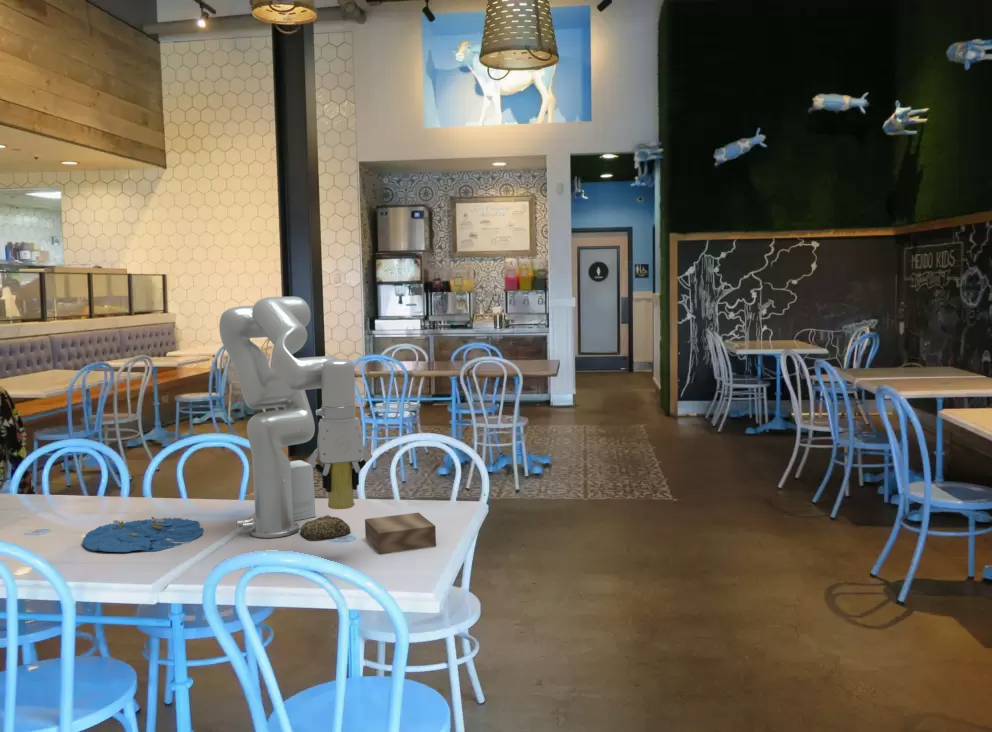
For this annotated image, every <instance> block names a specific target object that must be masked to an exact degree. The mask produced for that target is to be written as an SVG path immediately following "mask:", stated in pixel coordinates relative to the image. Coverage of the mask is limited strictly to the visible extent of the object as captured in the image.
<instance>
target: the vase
mask: <svg viewBox="0 0 992 732" xmlns="http://www.w3.org/2000/svg"><path fill="white" fill-rule="evenodd" d="M329 475H330V485H331V492H329V493H328V500H327V501H328V502H327V507H328V508H329V509H331V510H347V509H351V508H353V507H354V506H355V500H354V498H355V497H354V489H353V475H352V462H347V463H346V462H343V463H335V464H331V465H330V468H329Z"/></svg>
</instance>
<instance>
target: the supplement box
mask: <svg viewBox="0 0 992 732" xmlns="http://www.w3.org/2000/svg"><path fill="white" fill-rule="evenodd" d="M290 465H291V483H292V505H293V522H296V521H300V520H306V519H310V518H315V517H316V515H317V514H316V498H315V481H314V480H315V479H314V467H313V466H312V465H311V464H309V463H308V462H307V461H303V460H300V459H298V460H297V459H296V460H292V461H290Z"/></svg>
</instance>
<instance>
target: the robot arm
mask: <svg viewBox="0 0 992 732" xmlns="http://www.w3.org/2000/svg"><path fill="white" fill-rule="evenodd" d="M311 314H312V313H311V309H310V306H309V305H308V303H307V301H306V300H304V299H303V298H302V297H299V296H293V295H292V296H268V297H264V298H261V299H258V301H256V302H255V303H254V305H240V306H235V307H231V308H228V309H226V310H225V311H224V312H223V313H222V314H221V316H220V319H219V325H218V326H219V329H218V330H219V334H220V335H219V336H220V340H221V343H222V345H223V347H224V349H225V351H226V353H227V354H228V357H229V358H230V360H231V362H232V364H233V368H234V372H235V374H236V378H237V382H238V384H239V387H240V391H241V394H242V397H243V401H244V404H245V405H246V407H248V408H250V409H252V410H264V409H273V408H275V409H274V410H267V411H263V412H261V411H260V412H258V413H256V414H254V415H253V416H252V417H250V419H249V420H248V421H247V424H246V433H247V434H246V435H247V438H248V443H249V447H250V451H251V460H252V461H251V462H252V475H253V476H252V478H253V497H254V498H253V499H254V511H255V512H254V514H252V517H249V518H247V519H244V518H243V519H237V520H236V526H237V528H243V529H248V528H250V529H249V534H250V536H252V537H255V538H262V539H263V538H265V539H270V538H271V539H272V538H281V537H287V536H291V535H293V534H295V533H298V532H299V531H300V528H301V526H300V524H299V522H296V521H293V505H292V483H291V465H290V462H291V461H290V459H289V458H288V456H287V455H286V453H285V452H284V451H283V449H282V448H284V447H286V446H287V447H288V446H294V445H300V444H304V443H308V442H309V441H311V440H312V438H313V437H314V436H315V432H316V431H315V430H316V426H315V425H316V424H315V419H314V415H313V411H312V409H311V406H310V402H309V399H308V396H307V393H306V391H307V390H315V389H321V407H320V408H319V409H315V414H316V416H321V418H320V419H319V422H318V427H317V428H318V429H317V439H316V440H317V444H316V448H315V449H314V451H313V452H312V453H311V455H310V456H309V457H308V458H307V460H306V462H307V463H309V464H311V465H312V466H313V468H314V469H316V470H317V471H318V472H319V473H320V474H321V475H322V476H321V478H322V479H321V480H322V489H324V490H325V492H326V493H328V494H329V492H331V485H330V475H329V468H330V465H331V464H335V463H343V462H346V463H347V462H352V475H353V491H356V490H357V489H358V486H359V485H360V477H359V473H360V472H361V470H362V469H363V468H364V467H365V465H366V464H367V463H368V462H369V461H370V460H371V459H372V458H373V454H372V453H371V452H370V451H369V449H367V447H365V446H364V441H363V440H364V439H363V432H362V426H361V425H362V424H361V421H360V417H357V416H356V386H355V385H356V382H355V381H356V380H355V379H356V377H355V372H356V371H355V365H354V362H353V361H352V360H350V359H346V358H339V357H336V356H332V355H323V356H309V357H295V356H294V354H295V353H297V352H298V351H300V350H301V349H302V348H303V347H304V346H305V344H306V342H307V340H308V332H307V329H306V327H307V326H308V325H309V323H310V320H311ZM257 338H268V339H269V341H270V342H271V343H272V345H273V348H272V351H271V358H272V359H271V361H272V365H273V368H274V371H273V370H272V369H271V368H270V366H269V363H268V359H267V356H266V354H265V353H264V352H263V350H262V349H261V348H260V347H259V346H258V344H255V343H254V342H253V341H251V339H257ZM281 407H283V408H284V409H276V408H281ZM316 459H318V460H319V461H320V462H321V463H322V464H320V463H318V462H317V461H316Z"/></svg>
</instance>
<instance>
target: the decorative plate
mask: <svg viewBox="0 0 992 732" xmlns="http://www.w3.org/2000/svg"><path fill="white" fill-rule="evenodd" d="M112 522H113V523H109V524H105V525H99V526H98V527H96V528H95V529H93V530H90V531H88V532H87V533H85V535H84V537H83V539H82V546H83V547H85V548H86V549H88V550H90V551H91V550H93V552H94V551H95V552H96V551H98V552H105V553H109V552H111V553H114V552H115V553H130V552H133V551H138V550H139V551H144V552H158V551H164V550H165V549H169V548H174V547H178V546H179V547H180V546H181V545H183V544H184V545H185V544H189V543H191V542H193V541H194V540H195V539H198V538H199V537H203V532H204V528H203V527H201V524H200V522H199V521H198V520H192V519H189V518H186V519H185V518H181V517H179V518H178V517H174V518H171V517H164V518H163V517H162V518H158V517H153V516H151V519H141V520H132V521H126V522H124V521H123V520H122V521H120V520H117V519H115V520H113V521H112ZM151 541H152V542H151ZM169 546H170V547H169Z"/></svg>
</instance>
